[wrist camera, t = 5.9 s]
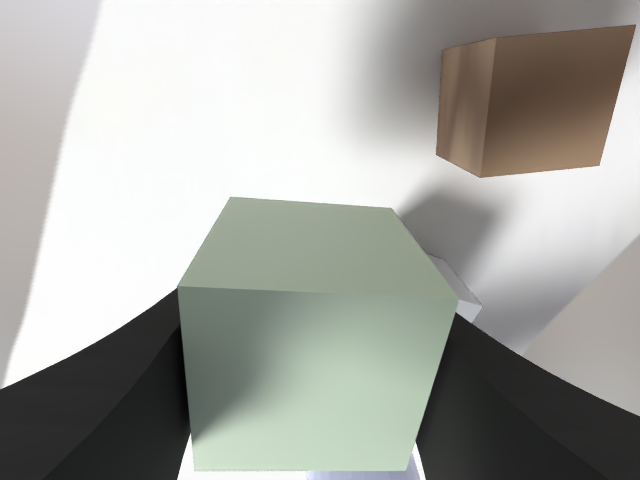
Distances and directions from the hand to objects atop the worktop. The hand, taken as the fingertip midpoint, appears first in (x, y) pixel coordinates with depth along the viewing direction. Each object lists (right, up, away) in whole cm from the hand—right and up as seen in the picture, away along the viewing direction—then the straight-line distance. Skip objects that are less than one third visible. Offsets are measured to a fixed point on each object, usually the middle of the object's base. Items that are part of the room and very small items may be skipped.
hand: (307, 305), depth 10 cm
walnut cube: (+9, +9, +7) cm, 15 cm away
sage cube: (0, +1, +1) cm, 2 cm away
